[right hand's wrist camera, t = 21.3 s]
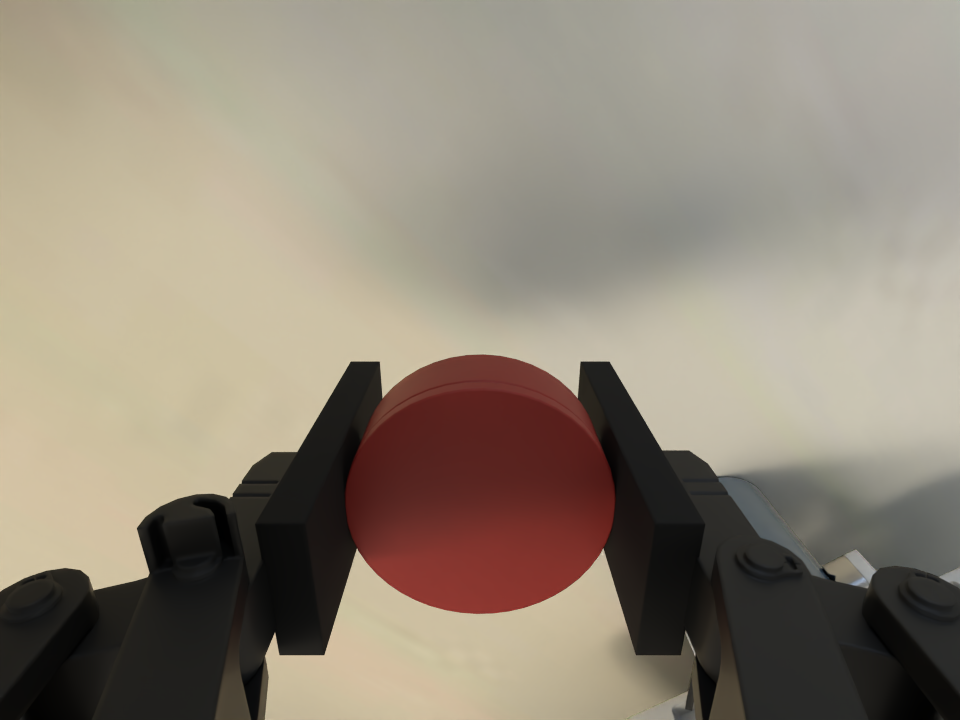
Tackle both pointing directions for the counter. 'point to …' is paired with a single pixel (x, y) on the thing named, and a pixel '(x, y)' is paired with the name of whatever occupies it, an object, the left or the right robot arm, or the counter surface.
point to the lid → (480, 486)
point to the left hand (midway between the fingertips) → (774, 604)
